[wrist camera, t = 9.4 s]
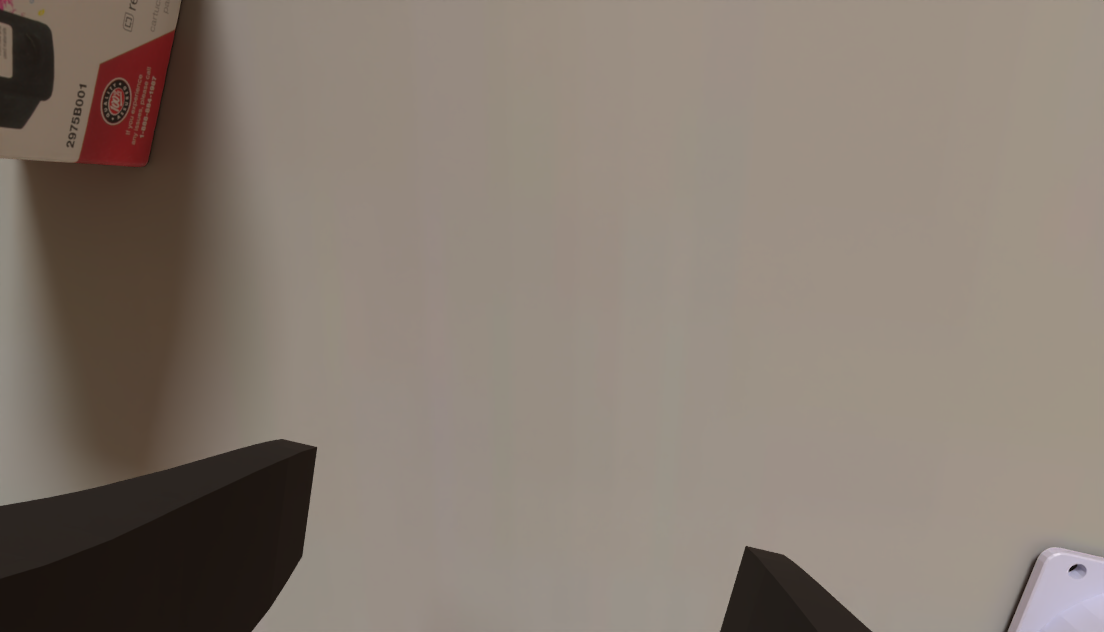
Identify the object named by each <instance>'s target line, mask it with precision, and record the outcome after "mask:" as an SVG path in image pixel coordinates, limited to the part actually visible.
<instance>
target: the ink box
mask: <svg viewBox="0 0 1104 632" xmlns="http://www.w3.org/2000/svg"><path fill="white" fill-rule="evenodd" d="M180 5H181V0H0V158H6V159H21V160H36V161H52V162H68V163H85V164H103V165H118V166H130V167H144V166H145V165H146V164H147V163H148V159H149V154H150V151H151V144H152V140H153V136H154V130H155V126H156V121H157V116H158V112H159V107H160V102H161V96H162V91H163V88H164V83H165V76H166V72H167V67H168V63H169V59H170V52H171V48H172V44H173V39H174V34H175V28H176V24H177V20H178V15H179V10H180Z"/></svg>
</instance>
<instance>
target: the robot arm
mask: <svg viewBox="0 0 1104 632" xmlns="http://www.w3.org/2000/svg"><path fill="white" fill-rule="evenodd" d="M316 451H317V447H314V446H310V445H305V444H301V443H297V442H292V441H288V440H284V439H280V440H273V441H268V442H264V443H260V444H255V445H252V446H248V447H244V448H241V449H237V450H234V451H230V452H227V453H223V454H220V455H216V456H213V457H209V458H206V459H202V460H199V461H195V462H192V463H188V464H185V465H181V466H178V467H175V468H171V469H167V470H164V471H160V472H156V473H152V474H148V475H144V476H140V477H136V478H132V479H128V480H124V481H120V482H116V483H112V484H109V485H105V486H101V487H97V488H92V489H88V490H83V491H79V492H74V493H69V494H64V495H59V496H54V497H49V498H44V499H38V500H32V501H27V502H21V503H15V504H10V505H4V506H0V632H251V631H252V630H253V629H254V628H255V626H256V625H257V624H258V623H259V621H260V620H261V619H262V618H263V616H264V615H265V614H266V613H267V611H268V610H269V609H270V607H271V606H272V604H273V603H274V601H275V600H276V598H277V596H278V595H279V593H280V592H281V590H282V589H283V587H284V586H285V584H286V582H287V581H288V579H289V577H290V576H291V574H292V572H293V571H294V569H295V567H296V566H297V564H298V562H299V561H300V559H301V557H302V554H303V547H304V539H305V532H306V525H307V517H308V510H309V503H310V495H311V488H312V481H313V473H314V466H315V459H316ZM1075 564H1077V567H1076V568H1075V569H1074V570H1073V571H1070V572H1069V569H1070V568H1071V566H1073V565H1075ZM720 632H872V631H871V630H869V629H868V628H867V627H866V626H865V625H864V624H863V623H862V622H861V621H859V620H858V619H857V618H856V617H855V616H854V615H853V614H852V613H851V612H849V611H848V610H847V609H846V608H845V607H844V606H843V605H842V604H841V603H840V602H838V601H837V600H836V599H835V598H834V597H833V596H832V595H831V594H830V593H829V592H827V591H826V590H825V589H824V588H823V587H822V586H821V585H820V584H819V583H818V582H816V581H815V580H814V579H813V578H812V577H811V576H810V575H808V574H807V573H806V572H805V571H804V570H803V569H801V568H800V567H799V566H798V565H797V564H795V563H794V562H793V561H792V560H790V559H789V558H787V557H786V556H785V555H782V554H778V553H774V552H769V551H765V550H761V549H756V548H752V547H748V546H746V547H745V551H744V554H743V557H742V561H741V564H740V567H739V571H738V574H737V577H736V581H735V584H734V587H733V591H732V594H731V597H730V601H729V604H728V607H727V611H726V614H725V617H724V621H723V624H722V627H721V631H720ZM1008 632H1104V558H1103V557H1099V556H1094V555H1090V554H1086V553H1081V552H1077V551H1072V550H1068V549H1064V548H1058V547H1052V548H1049V549H1046V550H1044V551H1043V552H1042V553H1041V554H1040V555H1039V557H1038V559H1037V561H1036V563H1035V566H1034V568H1033V571H1032V573H1031V576H1030V578H1029V581H1028V583H1027V585H1026V588H1025V590H1024V593H1023V595H1022V598H1021V600H1020V603H1019V605H1018V607H1017V610H1016V612H1015V615H1014V617H1013V620H1012V622H1011V625H1010V627H1009V630H1008Z"/></svg>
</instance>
